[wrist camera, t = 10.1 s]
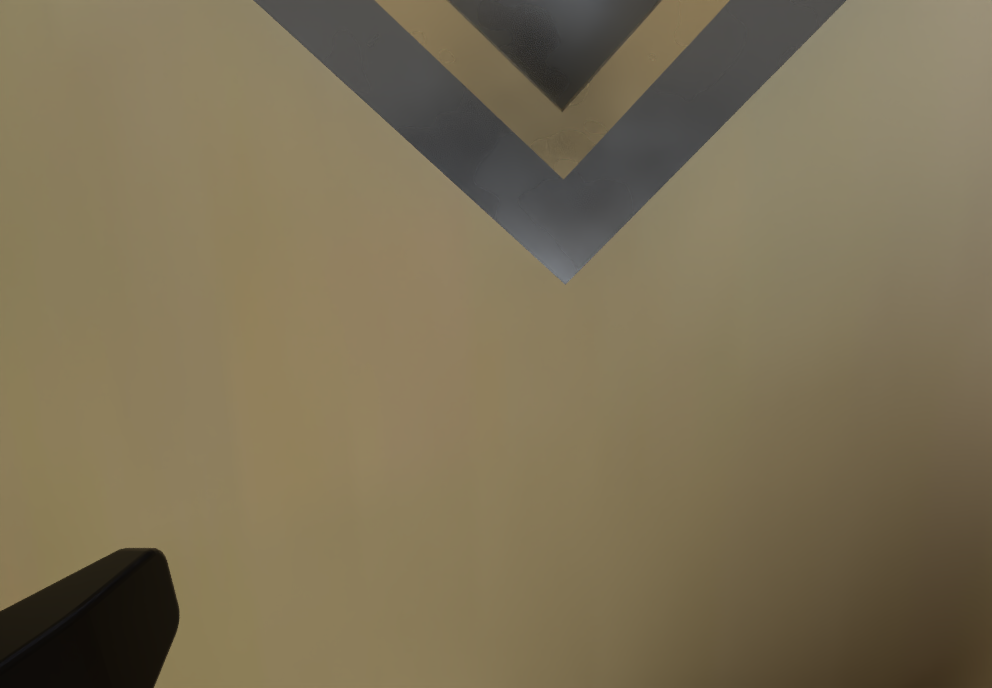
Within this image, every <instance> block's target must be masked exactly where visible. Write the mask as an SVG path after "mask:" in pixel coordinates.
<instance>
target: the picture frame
mask: <svg viewBox="0 0 992 688" xmlns="http://www.w3.org/2000/svg"><path fill="white" fill-rule="evenodd" d="M254 1H255V2H256V3H257V4H258V5H259V6H260V7H262V8H263V9H264V10H265V11H266V12H267V13H268V14H269V15H270V16H271V17H273V18H274V19H275V20H276V21H277V22H278V23H279V24H280V25H281V26H282V27H283V28H285V29H286V30H287V31H288V32H289V33H290V34H291V35H292V36H293V37H294V38H296V39H297V40H298V41H299V42H300V43H301V44H302V45H303V46H304V47H305V48H307V49H308V50H309V51H310V52H311V53H312V54H313V55H314V56H315V57H316V58H317V59H319V60H320V61H321V62H322V63H323V64H324V65H325V66H326V67H327V68H328V69H330V70H331V71H332V72H333V73H334V74H335V75H336V76H337V77H338V78H339V79H341V80H342V81H343V82H344V83H345V84H346V85H347V86H348V87H349V88H350V89H351V90H353V91H354V92H355V93H356V94H357V95H358V96H359V97H360V98H361V99H362V100H364V101H365V102H366V103H367V104H368V105H369V106H370V107H371V108H372V109H373V110H375V111H376V112H377V113H378V114H379V115H380V116H381V117H382V118H383V119H384V120H385V121H387V122H388V123H389V124H390V125H391V126H392V127H393V128H394V129H395V130H396V131H398V132H399V133H400V134H401V135H402V136H403V137H404V138H405V139H406V140H407V141H409V142H410V143H411V144H412V145H413V146H414V147H415V148H416V149H417V150H418V151H419V152H421V153H422V154H423V155H424V156H425V157H426V158H427V159H428V160H429V161H430V162H432V163H433V164H434V165H435V166H436V167H437V168H438V169H439V170H440V171H441V172H443V173H444V174H445V175H446V176H447V177H448V178H449V179H450V180H451V181H452V182H453V183H455V184H456V185H457V186H458V187H459V188H460V189H461V190H462V191H463V192H464V193H466V194H467V195H468V196H469V197H470V198H471V199H472V200H473V201H474V202H475V203H477V204H478V205H479V206H480V207H481V208H482V209H483V210H484V211H485V212H486V213H487V214H489V215H490V216H491V217H492V218H493V219H494V220H495V221H496V222H497V223H498V224H500V225H501V226H502V227H503V228H504V229H505V230H506V231H507V232H508V233H509V234H511V235H512V236H513V237H514V238H515V239H516V240H517V241H518V242H519V243H520V244H521V245H523V246H524V247H525V248H526V249H527V250H528V251H529V252H530V253H531V254H532V255H534V256H535V257H536V258H537V259H538V260H539V261H540V262H541V263H542V264H543V265H545V266H546V267H547V268H548V269H549V270H550V271H551V272H552V273H553V274H554V275H555V276H557V277H558V278H559V279H560V280H561V281H562V282H563V283H564V284H566V283H567V282H568V281H569V280H570V279H571V278H572V277H573V276H574V275H575V274H576V273H577V272H578V271H579V270H580V269H581V268H582V267H583V266H584V265H585V264H586V263H587V262H588V261H589V260H590V259H591V258H592V257H593V256H594V255H595V254H596V253H597V252H598V251H599V250H600V249H601V248H602V247H603V246H604V245H605V244H606V243H607V242H608V241H609V240H610V239H611V238H612V237H613V236H614V235H615V234H616V233H617V232H618V231H619V230H620V229H621V228H622V227H623V226H624V225H625V224H626V223H627V222H628V221H629V220H630V219H631V218H632V217H633V216H634V215H635V214H636V213H637V212H638V211H639V210H640V209H641V208H642V207H643V206H644V205H645V204H646V203H647V201H648V200H649V199H650V198H651V197H652V196H653V195H654V194H655V193H656V192H657V191H658V190H659V189H660V188H661V187H662V186H663V185H664V184H665V183H666V182H667V181H668V180H669V179H670V178H671V177H672V176H673V175H674V174H675V173H676V172H677V171H678V170H679V169H680V168H681V167H682V166H683V165H684V164H685V163H686V162H687V161H688V160H689V159H690V158H691V157H692V156H693V155H694V154H695V153H696V152H697V151H698V150H699V149H700V148H701V147H702V146H703V145H704V144H705V143H706V142H707V141H708V140H709V139H710V138H711V137H712V136H713V135H714V134H715V133H716V132H717V131H718V130H719V129H720V128H721V127H722V126H723V125H724V124H725V123H726V122H727V121H728V120H729V119H730V118H731V117H732V116H733V115H734V114H735V112H736V111H737V110H738V109H739V108H740V107H741V106H742V105H743V104H744V103H745V102H746V101H747V100H748V99H749V98H750V97H751V96H752V95H753V94H754V93H755V92H756V91H757V90H758V89H759V88H760V87H761V86H762V85H763V84H764V83H765V82H766V81H767V80H768V79H769V78H770V77H771V76H772V75H773V74H774V73H775V72H776V71H777V70H778V69H779V68H780V67H781V66H782V65H783V64H784V63H785V62H786V61H787V60H788V59H789V58H790V57H791V56H792V55H793V54H794V53H795V52H796V51H797V50H798V49H799V48H800V47H801V46H802V45H803V44H804V43H805V42H806V41H807V40H808V39H809V38H810V37H811V36H812V35H813V34H814V33H815V32H816V31H817V30H818V29H819V28H820V27H821V26H822V25H823V23H824V22H825V21H826V20H827V19H828V18H829V17H830V16H831V15H832V14H833V13H834V12H835V11H836V10H837V9H838V8H839V7H840V6H841V5H842V4H843V3H844V2H845V1H846V0H254Z"/></svg>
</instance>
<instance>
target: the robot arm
mask: <svg viewBox="0 0 992 688" xmlns="http://www.w3.org/2000/svg"><path fill="white" fill-rule="evenodd" d="M178 624H179V606H178V602H177V598H176V594H175V590H174V586H173V582H172V578H171V574H170V570H169V567H168V563H167V560H166V557H165V555H164V554H163V553H162V552H161V551H160V550H158V549H156V548H124V549H120V550H118V551H116V552H114V553H112V554H110V555H108V556H106V557H104V558H102V559H100V560H98V561H96V562H94V563H93V564H91V565H89V566H87V567H85V568H83V569H81V570H79V571H77V572H75V573H73V574H71V575H69V576H67V577H66V578H64V579H62V580H60V581H58V582H56V583H54V584H52V585H50V586H48V587H46V588H44V589H42V590H41V591H39V592H37V593H35V594H33V595H31V596H29V597H27V598H25V599H23V600H21V601H19V602H17V603H15V604H14V605H12V606H10V607H8V608H6V609H4V610H2V611H0V688H154V686H155V684H156V681H157V679H158V676H159V674H160V671H161V669H162V666H163V664H164V662H165V659H166V657H167V654H168V652H169V649H170V647H171V644H172V642H173V640H174V637H175V635H176V632H177V628H178Z"/></svg>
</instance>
